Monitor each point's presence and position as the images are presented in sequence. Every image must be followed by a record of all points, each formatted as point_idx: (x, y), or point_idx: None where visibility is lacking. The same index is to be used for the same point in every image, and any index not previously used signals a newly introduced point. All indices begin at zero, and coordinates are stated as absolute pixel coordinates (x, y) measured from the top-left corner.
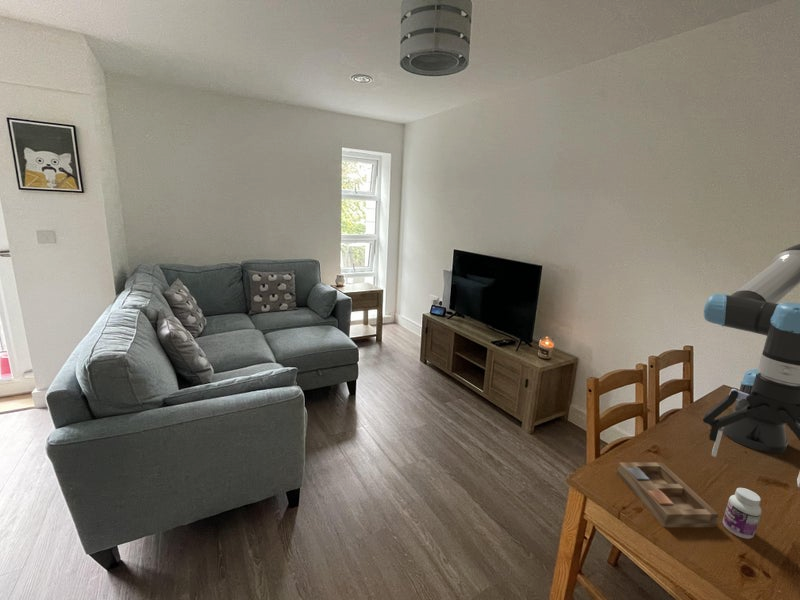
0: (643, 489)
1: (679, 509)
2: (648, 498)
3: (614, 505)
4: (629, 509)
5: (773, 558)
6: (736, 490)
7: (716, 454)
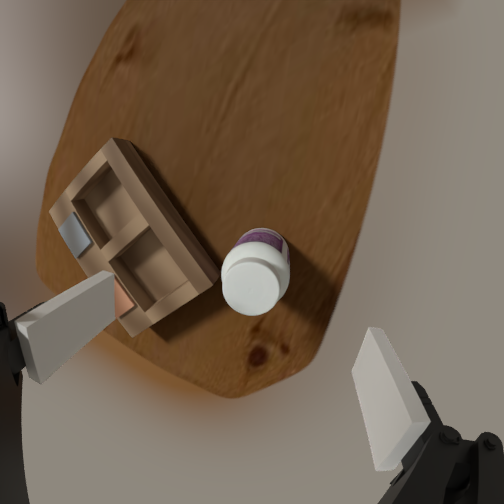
0: None
1: (146, 312)
2: None
3: None
4: None
5: (308, 304)
6: (222, 286)
7: (108, 324)
